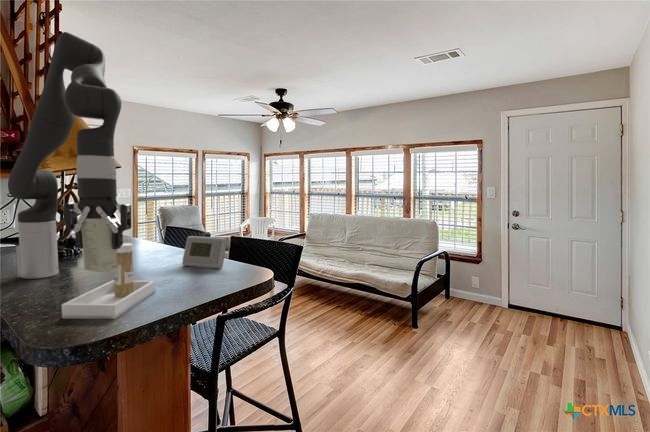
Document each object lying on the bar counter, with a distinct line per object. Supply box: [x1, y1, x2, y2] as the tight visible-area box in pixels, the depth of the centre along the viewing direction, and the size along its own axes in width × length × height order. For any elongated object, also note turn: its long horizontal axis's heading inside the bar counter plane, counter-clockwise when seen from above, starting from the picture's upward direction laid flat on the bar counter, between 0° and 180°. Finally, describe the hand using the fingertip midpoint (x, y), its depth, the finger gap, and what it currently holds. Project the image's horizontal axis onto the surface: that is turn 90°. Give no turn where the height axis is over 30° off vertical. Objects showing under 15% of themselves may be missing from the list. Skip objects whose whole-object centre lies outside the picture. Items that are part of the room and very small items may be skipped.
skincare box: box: [81, 218, 118, 273], centre depth 82 cm, size 6×4×12 cm
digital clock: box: [181, 235, 228, 270], centre depth 129 cm, size 16×9×11 cm, turn 65°
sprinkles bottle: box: [113, 242, 134, 297], centre depth 93 cm, size 5×5×13 cm
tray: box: [61, 279, 157, 320], centre depth 88 cm, size 12×20×3 cm, turn 1°
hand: (99, 248), depth 82 cm, fingers closed on skincare box, 7 cm apart
